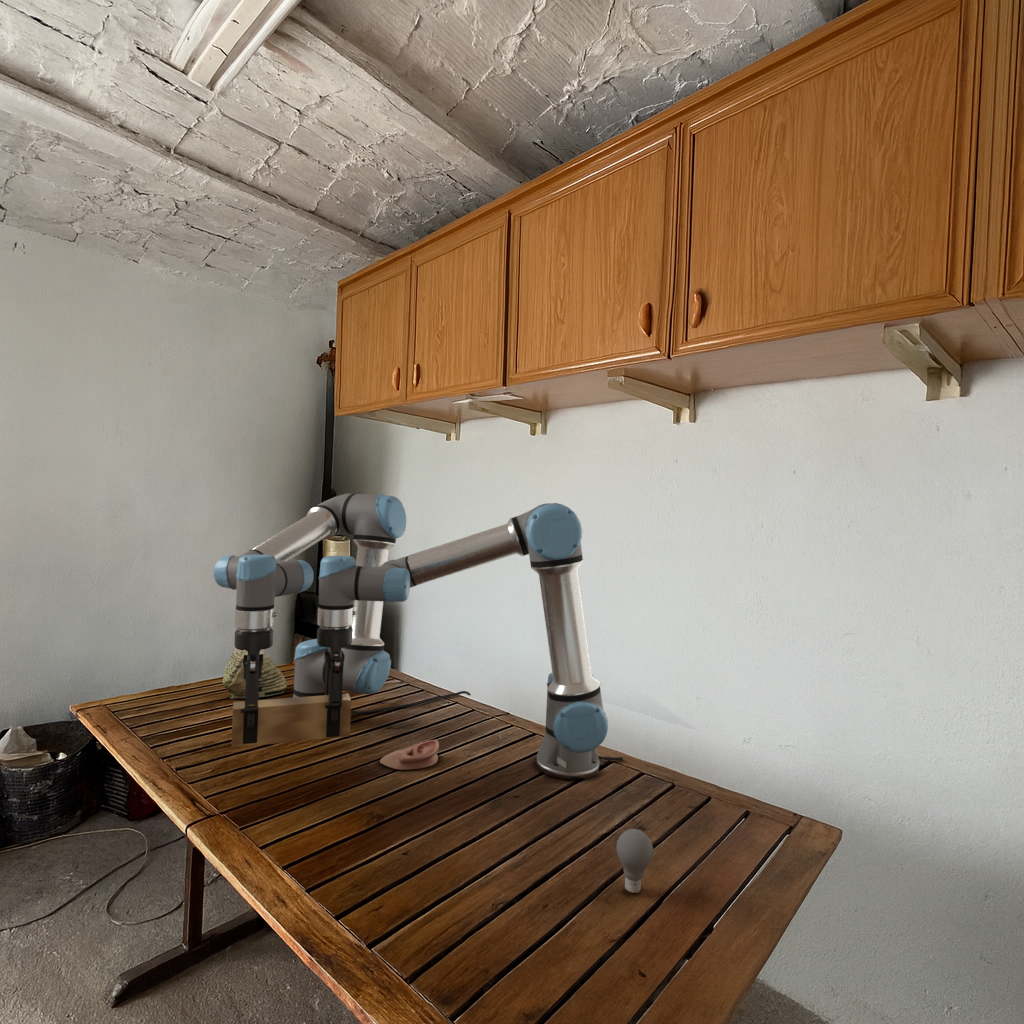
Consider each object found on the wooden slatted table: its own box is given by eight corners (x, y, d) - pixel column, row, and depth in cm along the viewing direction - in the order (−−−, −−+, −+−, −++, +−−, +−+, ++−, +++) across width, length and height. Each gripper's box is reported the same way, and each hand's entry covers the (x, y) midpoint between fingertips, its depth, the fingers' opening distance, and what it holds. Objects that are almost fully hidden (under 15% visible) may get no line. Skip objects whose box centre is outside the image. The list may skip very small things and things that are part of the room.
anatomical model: (374, 749, 149) (393, 732, 160) (374, 766, 149) (393, 748, 161) (428, 756, 147) (443, 739, 158) (427, 774, 147) (443, 754, 158)
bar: (231, 747, 130) (232, 709, 130) (232, 739, 134) (233, 701, 134) (349, 736, 139) (351, 700, 138) (347, 728, 143) (348, 693, 143)
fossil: (218, 695, 195) (220, 647, 195) (278, 685, 208) (279, 640, 207) (228, 703, 189) (230, 653, 188) (289, 692, 201) (290, 645, 201)
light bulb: (610, 879, 108) (613, 822, 108) (644, 879, 109) (647, 822, 109) (619, 902, 102) (622, 840, 102) (655, 901, 103) (658, 840, 103)
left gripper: (274, 640, 124) (270, 752, 124) (272, 617, 145) (269, 713, 146) (232, 641, 121) (228, 756, 121) (237, 618, 142) (233, 716, 143)
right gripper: (358, 634, 132) (354, 745, 133) (347, 618, 149) (344, 716, 149) (320, 635, 129) (316, 748, 130) (314, 619, 146) (311, 719, 147)
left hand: (250, 732), depth 133 cm, fingers open, 10 cm apart
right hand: (331, 731), depth 140 cm, fingers closed on bar, 5 cm apart
